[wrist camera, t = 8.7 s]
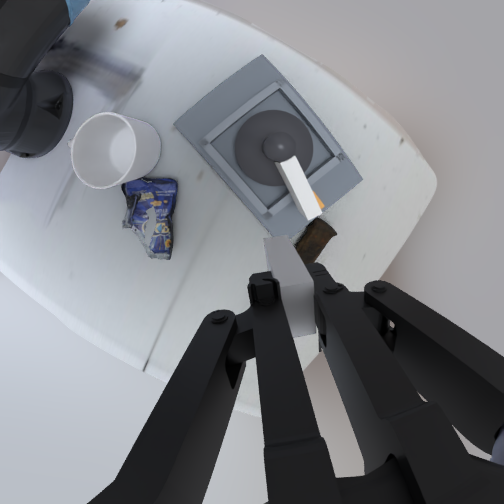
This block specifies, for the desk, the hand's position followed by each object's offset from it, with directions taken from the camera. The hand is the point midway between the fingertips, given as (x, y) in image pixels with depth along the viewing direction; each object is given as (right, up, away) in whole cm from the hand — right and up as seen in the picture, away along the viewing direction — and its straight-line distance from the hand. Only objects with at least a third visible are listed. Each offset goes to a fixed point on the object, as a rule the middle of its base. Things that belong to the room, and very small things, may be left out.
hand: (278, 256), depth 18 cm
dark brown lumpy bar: (+4, -3, +25) cm, 26 cm away
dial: (+2, +12, +17) cm, 20 cm away
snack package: (-16, +6, +21) cm, 28 cm away
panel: (+1, +14, +19) cm, 23 cm away
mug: (-20, +15, +17) cm, 31 cm away
